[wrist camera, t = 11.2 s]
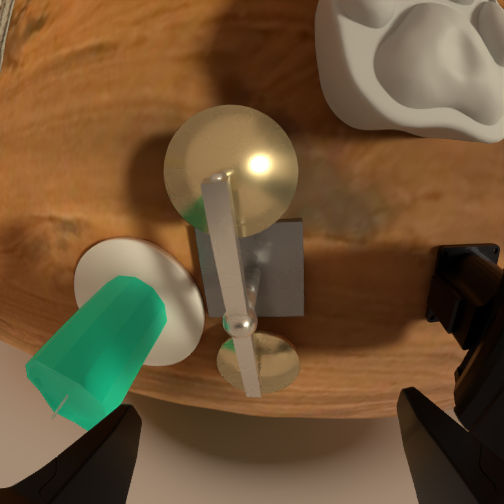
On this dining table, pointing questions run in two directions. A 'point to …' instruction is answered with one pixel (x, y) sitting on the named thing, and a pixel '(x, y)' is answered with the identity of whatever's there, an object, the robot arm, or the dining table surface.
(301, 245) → the balance
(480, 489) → the robot arm
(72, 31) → the dining table surface
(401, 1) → the lumpy-topped squat cylinder
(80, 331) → the candle
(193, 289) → the dish
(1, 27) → the washcloth
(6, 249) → the dining table surface
